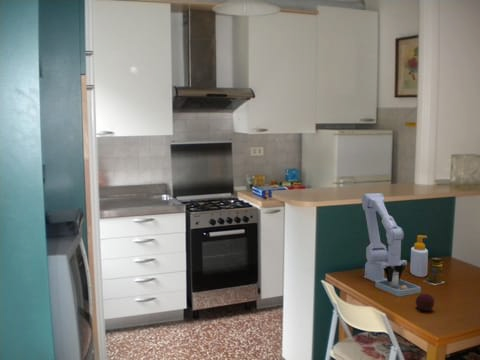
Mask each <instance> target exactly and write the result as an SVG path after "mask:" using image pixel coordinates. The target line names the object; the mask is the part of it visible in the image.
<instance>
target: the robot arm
mask: <svg viewBox="0 0 480 360" xmlns="http://www.w3.org/2000/svg"><path fill="white" fill-rule="evenodd" d="M361 206H362V210H363V211H364V213H365V219H366V224H367V225H366V226H367V232H368V239H369V244H368V246H366V248H365V252H366V253H365V257H366V260H367V261H366V262H365V264H364V276H363V278H364V279H367V280H369V281H373V282H374V283H375V282H377V281H383V280H387V281H389V282H392V275H393V271H394V270H396V271H399V280H400V279H401V277H402V273H403V271H405V269H406V266H407V265H408V260H405V259H401V253H402V251H401V250H402V240H403V239H404V238H405V233H404V232H405V231H404V230H403V228H402V227H400V226H398V225H397V223H396V221H395V219H394V216H392V215H389V213H388V210H387V208H386V206H385V196H384V194H383V193H381V192H378V193H364V194H363V195H362V196H361ZM377 212H378V214H379V215H380V218H381V224H382V225H383V227H384V229H385V232H386V233H385V236H386V241H387V244H388V246H386V244H384V243H382V242H381V237H380V236H381V235H380V230H379V224H378V219H377ZM387 247H388V248H387ZM385 276H386V277H385Z"/></svg>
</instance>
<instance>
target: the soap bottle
mask: <svg viewBox="0 0 480 360" xmlns="http://www.w3.org/2000/svg"><path fill="white" fill-rule="evenodd" d="M416 238H417V239H416V240H417V241H416V242H414V244H413V246H412V247H411V248H410V269H409V272H410V273H411V275H413V276H415V277H419V278H424V277H426V276H427V275H428V266H429V265H428V261H429V260H428V259H429V257H428V256H429V250H428V249H427V248H426V244H425V243H424V242H423V239H428V236H427V235H420V234H419V235H417V237H416Z"/></svg>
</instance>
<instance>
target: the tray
mask: <svg viewBox="0 0 480 360" xmlns="http://www.w3.org/2000/svg"><path fill="white" fill-rule="evenodd" d="M374 283H375V285H374V287H375V288H377V289H379V290H381V291H384V292H386V293H388V294H390V295H393V296H396V297H399V298H400V297H404V296H410V295H415V294H420V293H421V292H422V287H421V286H419V285H416V284H414V283H411V282H409V281H406V280H403V279H401V278H400V280H399V285H398V286H390V285H389V281H387V280H383V281H377V282H375V281H374ZM403 285H405V286H407V288H408V289H405V290H401V289H400V288H401V286H403ZM421 294H422V293H421Z"/></svg>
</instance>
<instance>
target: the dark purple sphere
mask: <svg viewBox="0 0 480 360" xmlns="http://www.w3.org/2000/svg"><path fill="white" fill-rule="evenodd" d="M415 304H416V307H417V308H418V309H419V310H421V311H422V312H423V311H426V312H427V311H431V310H432V309H433V308H434V305H435V299H434V297H433V296H432V295H431V294H428V293H421V294H420V293H419V295H417V297H416V299H415Z"/></svg>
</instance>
